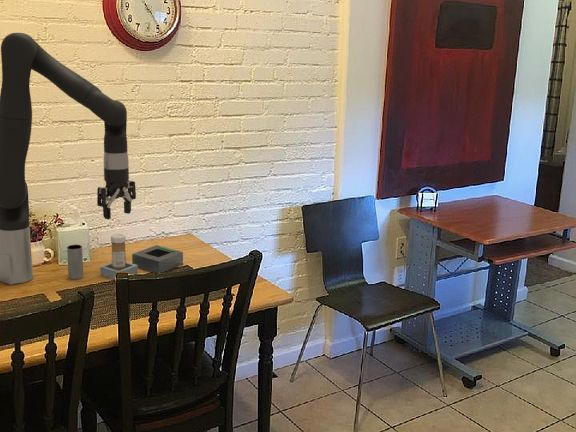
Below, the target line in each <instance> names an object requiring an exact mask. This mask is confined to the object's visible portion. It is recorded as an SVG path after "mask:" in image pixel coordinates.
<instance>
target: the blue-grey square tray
mask: <svg viewBox="0 0 576 432" xmlns="http://www.w3.org/2000/svg"><path fill="white" fill-rule="evenodd" d="M99 268H100V269H99V270H100V271H99V272H100V276H101V277H105V278H108V279H111V280H114V281H116V280H115V277H116V273H118V272H126V273H128V274H136V275H138V274H139V268H138V265H136V264H132V263H131V262H129V261H126V268H125V269H122V270H120V271H118V270H115V269H113V267H112V262H110V263H109V262H108V263H107V264H104V265H100V266H99Z"/></svg>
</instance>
